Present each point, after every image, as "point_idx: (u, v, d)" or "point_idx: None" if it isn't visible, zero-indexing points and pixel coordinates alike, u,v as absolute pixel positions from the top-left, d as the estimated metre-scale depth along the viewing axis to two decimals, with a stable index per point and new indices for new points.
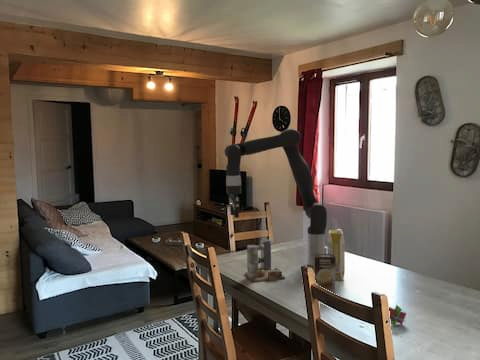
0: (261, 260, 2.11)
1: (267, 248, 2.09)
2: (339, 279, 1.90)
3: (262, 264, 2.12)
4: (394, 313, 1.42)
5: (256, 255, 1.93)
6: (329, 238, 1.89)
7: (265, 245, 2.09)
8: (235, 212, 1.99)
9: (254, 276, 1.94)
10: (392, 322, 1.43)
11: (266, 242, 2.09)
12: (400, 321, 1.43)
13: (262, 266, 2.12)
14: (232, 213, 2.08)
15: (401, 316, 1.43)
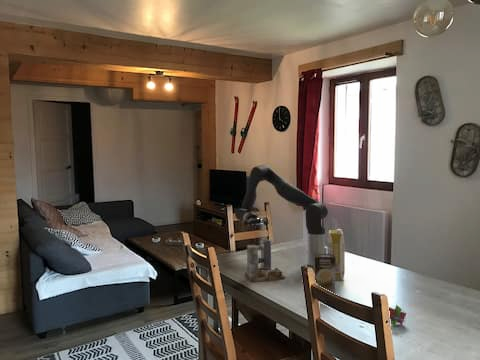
0: (261, 260, 2.11)
1: (267, 248, 2.09)
2: (339, 279, 1.90)
3: (262, 264, 2.12)
4: (394, 313, 1.42)
5: (256, 255, 1.93)
6: (329, 238, 1.89)
7: (265, 245, 2.09)
8: (248, 225, 2.23)
9: (254, 276, 1.94)
10: (392, 322, 1.43)
11: (266, 242, 2.09)
12: (400, 321, 1.43)
13: (262, 266, 2.12)
14: (265, 223, 2.23)
15: (401, 316, 1.43)
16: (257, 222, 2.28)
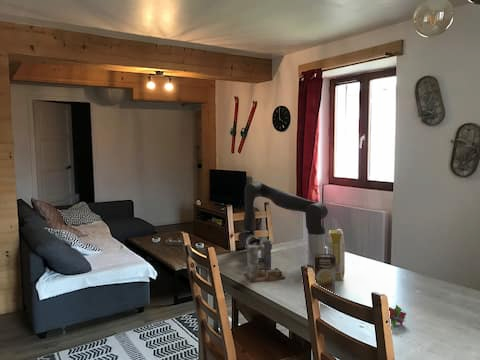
0: (261, 260, 2.11)
1: (267, 248, 2.09)
2: (339, 279, 1.90)
3: (262, 264, 2.12)
4: (394, 313, 1.42)
5: (256, 255, 1.93)
6: (329, 238, 1.89)
7: (265, 245, 2.09)
8: None
9: (254, 276, 1.94)
10: (392, 322, 1.43)
11: (266, 242, 2.09)
12: (400, 321, 1.43)
13: (262, 266, 2.12)
14: None
15: (401, 316, 1.43)
16: None
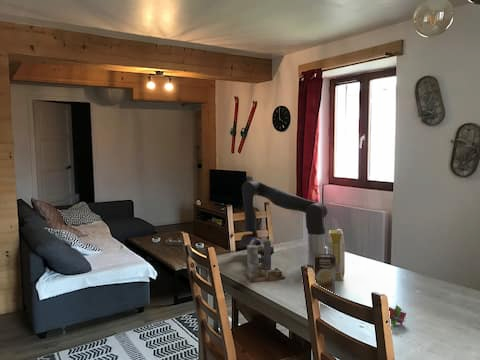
0: (261, 260, 2.11)
1: (267, 248, 2.09)
2: (339, 279, 1.90)
3: (262, 264, 2.12)
4: (394, 313, 1.42)
5: (256, 255, 1.93)
6: (329, 238, 1.89)
7: (265, 245, 2.09)
8: (259, 254, 2.11)
9: (254, 276, 1.94)
10: (392, 322, 1.43)
11: (266, 242, 2.09)
12: (400, 321, 1.43)
13: (262, 266, 2.12)
14: None
15: (401, 316, 1.43)
16: None
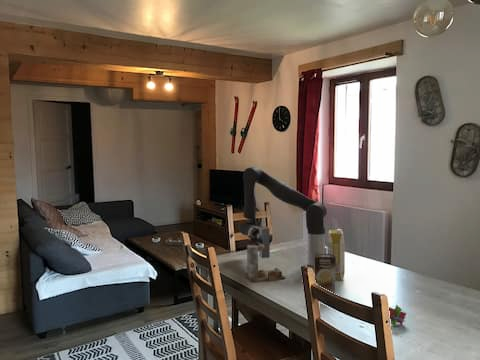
0: None
1: (265, 236, 2.03)
2: (339, 279, 1.90)
3: (260, 252, 2.06)
4: (394, 313, 1.42)
5: (256, 255, 1.93)
6: (329, 238, 1.89)
7: (264, 233, 2.03)
8: (258, 242, 2.05)
9: (254, 276, 1.94)
10: (392, 322, 1.43)
11: (265, 230, 2.03)
12: (400, 321, 1.43)
13: (260, 254, 2.06)
14: (269, 241, 2.05)
15: (401, 316, 1.43)
16: None
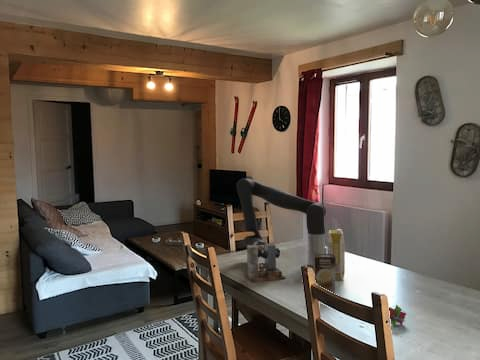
0: (265, 266, 1.97)
1: (271, 253, 1.96)
2: (339, 279, 1.90)
3: (266, 270, 1.98)
4: (394, 313, 1.42)
5: (256, 255, 1.93)
6: (329, 238, 1.89)
7: (270, 250, 1.95)
8: (262, 257, 1.97)
9: (254, 276, 1.94)
10: (392, 322, 1.43)
11: (271, 246, 1.95)
12: (400, 321, 1.43)
13: (266, 272, 1.98)
14: (276, 256, 1.97)
15: (401, 316, 1.43)
16: None
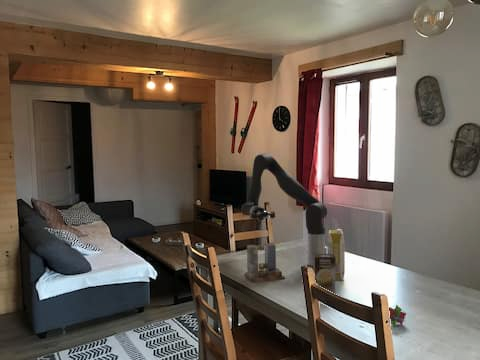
0: (265, 266, 1.97)
1: (271, 253, 1.96)
2: (339, 279, 1.90)
3: (266, 270, 1.98)
4: (394, 313, 1.42)
5: (256, 255, 1.93)
6: (329, 238, 1.89)
7: (270, 250, 1.95)
8: (257, 218, 2.13)
9: (254, 276, 1.94)
10: (392, 322, 1.43)
11: (271, 246, 1.95)
12: (400, 321, 1.43)
13: (266, 272, 1.98)
14: (271, 216, 2.12)
15: (401, 316, 1.43)
16: (263, 215, 2.18)
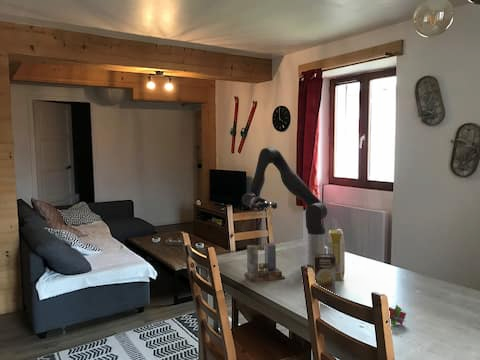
0: (265, 266, 1.97)
1: (271, 253, 1.96)
2: (339, 279, 1.90)
3: (266, 270, 1.98)
4: (394, 313, 1.42)
5: (256, 255, 1.93)
6: (329, 238, 1.89)
7: (270, 250, 1.95)
8: (256, 208, 2.14)
9: (254, 276, 1.94)
10: (392, 322, 1.43)
11: (271, 246, 1.95)
12: (400, 321, 1.43)
13: (266, 272, 1.98)
14: (273, 207, 2.14)
15: (401, 316, 1.43)
16: (265, 206, 2.19)
